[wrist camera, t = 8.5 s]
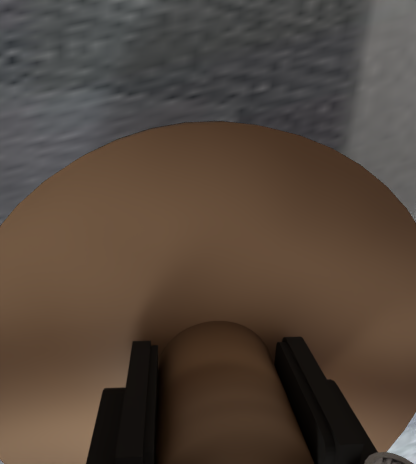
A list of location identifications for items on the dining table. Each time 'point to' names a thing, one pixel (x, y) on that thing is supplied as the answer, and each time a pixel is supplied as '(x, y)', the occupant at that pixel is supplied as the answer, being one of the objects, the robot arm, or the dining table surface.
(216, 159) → the lid
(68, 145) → the dining table surface
